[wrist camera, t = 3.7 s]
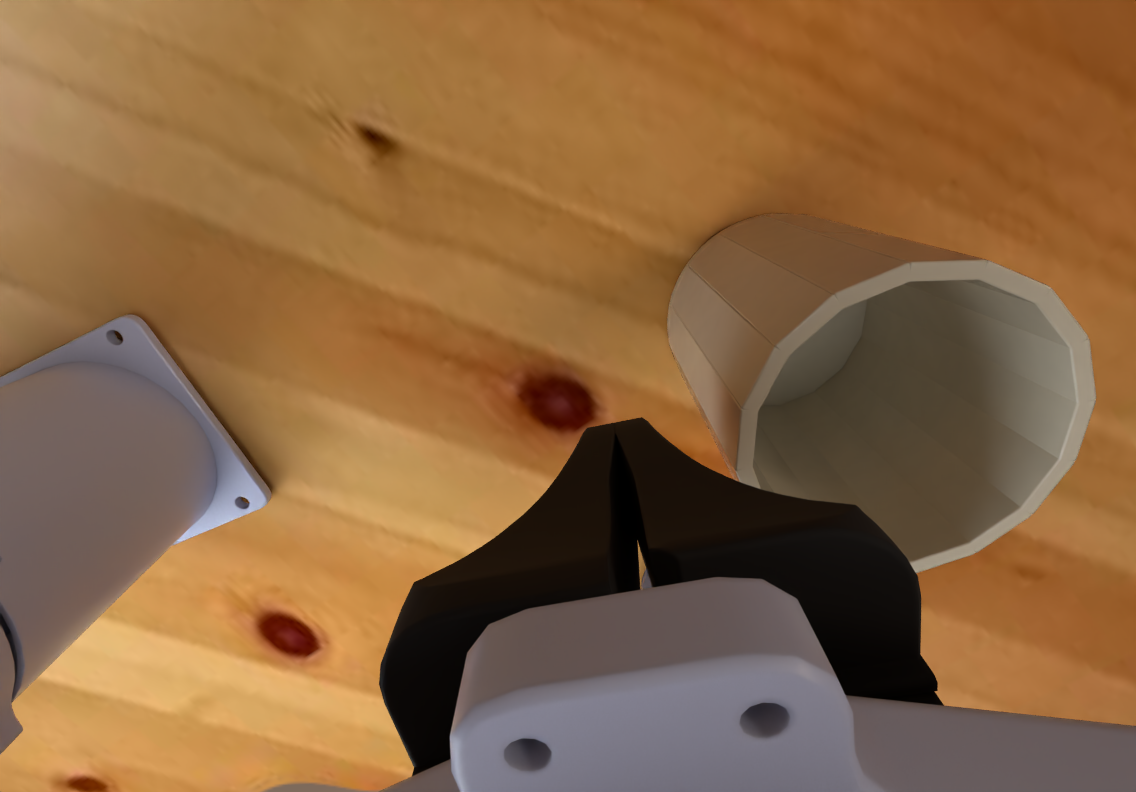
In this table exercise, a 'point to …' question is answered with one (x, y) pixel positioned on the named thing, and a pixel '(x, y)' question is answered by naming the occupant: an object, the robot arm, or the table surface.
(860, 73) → the table surface
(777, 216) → the cream cup
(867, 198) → the table surface
